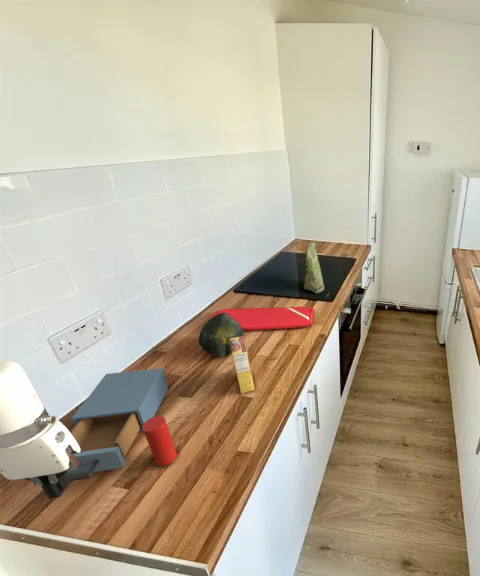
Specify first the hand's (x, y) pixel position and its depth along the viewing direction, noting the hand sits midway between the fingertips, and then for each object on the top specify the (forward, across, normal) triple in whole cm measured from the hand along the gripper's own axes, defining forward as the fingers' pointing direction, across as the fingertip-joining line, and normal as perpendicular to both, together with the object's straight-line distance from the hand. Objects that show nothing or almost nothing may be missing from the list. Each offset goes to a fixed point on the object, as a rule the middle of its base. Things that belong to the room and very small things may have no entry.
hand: (59, 490), depth 65 cm
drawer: (+6, 0, -13) cm, 15 cm away
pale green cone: (+7, -54, -99) cm, 113 cm away
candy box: (+7, -30, -33) cm, 45 cm away
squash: (+7, -20, -53) cm, 57 cm away
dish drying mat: (+7, -32, -71) cm, 78 cm away
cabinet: (+6, 0, -27) cm, 28 cm away
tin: (+6, -15, -9) cm, 19 cm away
